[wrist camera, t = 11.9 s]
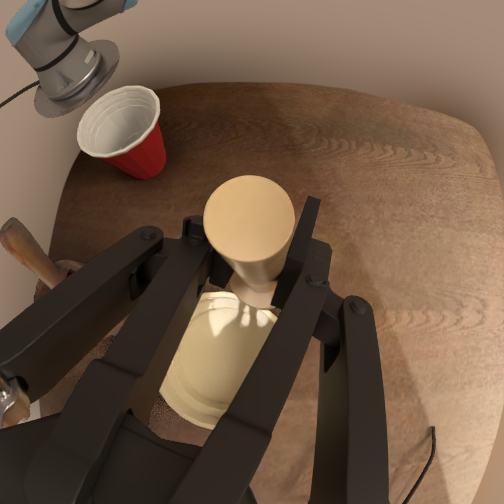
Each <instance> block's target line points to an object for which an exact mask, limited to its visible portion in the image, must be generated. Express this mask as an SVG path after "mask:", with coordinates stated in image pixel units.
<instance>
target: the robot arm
mask: <svg viewBox="0 0 504 504" xmlns="http://www.w3.org/2000/svg"><path fill="white" fill-rule="evenodd" d="M137 3H138V0H28V1H27V2H26V3H25V4H24V5H23V6H22V7H21V8H20V9H19V10H18V11H17V12H16V14H15V15H14V16H13V17H12V19H11V20H10V21H9V23H8V25H7V27H6V30H5V35H6V37H7V38H8V40H9V41H10V43H11V44H12V46H13V47H14V48H15V49H16V50H17V51H18V52H19V53H20V54H21V56H22V57H23V58H24V59H25V60H26V61H27V62H28V63H29V64H30V66H31V67H33V69H34V70H35V71H36V72H37V75H38V78H39V80H38V81H37V82H34V83H32V84H30V85H28V86H27V87H25V88H23V89H22V90H20V91H19V92H17V93H16V94H14V95H13V96H11V97H10V98H8V99H7V100H5V101H4V102H2V103H1V104H0V108H1V107H2V106H4V105H5V104H7V103H8V102H10V101H11V100H13V99H14V98H16V97H17V96H18V95H20V94H22V93H23V92H25V91H27V90H28V89H30V88H32V87H34V86H36V85H38V84H41V87H42V90H43V92H44V94H45V95H46V96H47V97H48V98H49V99H51V100H62V99H65V98H67V97H69V96H71V95H73V94H74V93H76V92H77V91H79V90H80V89H81V88H83V87H84V86H85V85H86V84H87V83H88V82H89V81H90V80H91V79H92V78H93V77H94V75H95V74H96V73H97V71H98V70H99V68H100V66H101V63H102V55H101V53H100V51H99V50H98V48H97V47H95V46H93V45H92V44H90V43H89V42H87V41H86V40H84V39H83V38H81V37H80V36H79V35H78V33H79V32H81V31H83V30H85V29H87V28H89V27H91V26H93V25H95V24H96V23H99V22H101V21H103V20H105V19H107V18H109V17H112V16H114V15H116V14H118V13H123V12H124V11H125V10H127V9H129V8H132V7H134V6H135V5H136V4H137ZM320 201H321V200H320V199H317V198H314V197H311V196H308V198H307V201H306V203H305V206H304V209H303V212H302V215H301V217H300V220H299V223H298V226H297V228H296V231H295V234H294V237H293V239H292V242H291V245H290V247H289V250H288V253H287V257H286V261H285V264H284V267H283V269H282V271H281V273H280V276H279V279H278V282H277V285H276V288H275V291H274V294H273V297H272V300H271V303H270V305H271V306H274V307H277V308H280V309H282V310H281V312H280V314H279V316H278V318H277V320H276V322H275V324H274V326H273V328H272V330H271V331H270V333H269V335H268V337H267V339H266V341H265V343H264V344H263V346H262V348H261V350H260V352H259V354H258V356H257V357H256V359H255V361H254V363H253V365H252V366H251V368H250V370H249V372H248V374H247V375H246V377H245V379H244V381H243V383H242V384H241V386H240V388H239V390H238V391H237V393H236V395H235V397H234V398H233V400H232V402H231V404H230V405H229V407H228V409H227V410H226V412H225V413H224V414H223V415H222V416H221V418H220V419H219V421H218V422H217V424H216V426H215V427H214V429H213V431H212V432H211V434H210V436H209V437H208V439H207V441H206V442H205V444H204V445H203V447H199V446H197V445H191V444H185V443H180V442H175V441H170V440H165V439H162V438H160V437H159V436H157V435H156V434H155V433H154V432H152V431H151V430H150V429H149V428H148V427H147V426H148V422H149V416H150V412H151V409H152V407H153V404H154V402H155V400H156V397H157V395H158V393H159V390H160V388H161V386H162V383H163V381H164V379H165V376H166V374H167V372H168V370H169V367H170V365H171V363H172V360H173V358H174V356H175V354H176V351H177V349H178V347H179V345H180V342H181V340H182V338H183V336H184V333H185V331H186V329H187V327H188V324H189V322H190V320H191V318H192V316H193V313H194V311H195V309H196V307H197V305H198V302H199V300H200V298H201V296H202V294H203V291H204V289H205V283H206V280H207V278H208V277H209V275H210V279H209V283H211V284H213V285H216V286H219V287H221V288H225V287H226V285H227V283H228V281H229V280H230V278H231V276H232V275H233V273H234V270H233V269H232V268H231V267H230V266H229V265H228V263H227V262H226V261H225V260H224V259H223V258H222V257H221V256H220V254H219V253H218V252H217V251H216V250H215V249H214V248H213V246H212V245H211V244H210V242H209V240H208V239H207V236H206V234H205V230H204V225H203V216H198V215H195V216H189V217H186V218H185V219H184V220H183V231H182V237H181V238H180V239H170V238H163V235H164V233H163V231H162V230H161V229H159V228H158V227H154V226H143V227H140V228H138V229H136V230H135V231H133V232H132V233H130V234H129V235H127V236H126V237H124V238H123V239H121V240H120V241H118V242H117V243H115V244H114V245H112V246H111V247H109V248H108V249H106V250H105V251H103V252H102V253H101V254H99V255H98V256H96V257H95V258H93V259H92V260H90V261H89V262H88V263H86V264H85V265H83V266H82V267H81V268H79V269H78V270H77V271H75V272H74V273H72V274H71V275H70V276H68V277H67V278H66V279H64V280H63V281H62V282H60V283H59V284H58V285H56V286H55V287H54V288H52V289H51V290H50V291H48V292H47V293H46V294H44V295H43V296H42V297H40V298H39V299H38V300H37V301H35V302H34V303H33V304H32V305H30V306H29V307H28V308H27V309H25V310H24V311H23V312H22V313H20V314H19V315H18V316H17V317H15V318H14V319H13V320H12V321H11V322H9V323H8V324H7V325H6V326H5V327H3V328H2V329H1V330H0V504H257V502H256V499H255V497H254V494H253V492H252V490H251V488H250V486H249V484H250V482H251V480H252V478H253V476H254V474H255V472H256V470H257V468H258V466H259V464H260V462H261V459H262V457H263V455H264V453H265V451H266V449H267V447H268V445H269V442H270V440H271V437H272V431H273V429H274V427H275V424H276V422H277V420H278V418H279V415H280V413H281V411H282V409H283V406H284V404H285V402H286V399H287V397H288V395H289V392H290V390H291V388H292V385H293V383H294V380H295V378H296V375H297V373H298V370H299V368H300V365H301V363H302V360H303V358H304V355H305V353H306V350H307V348H308V345H309V342H310V340H311V337H312V336H313V337H315V338H316V339H318V340H320V341H321V343H320V372H319V396H318V414H317V430H316V443H315V455H314V466H313V477H312V486H311V495H310V504H390V503H389V500H388V492H389V477H388V442H387V424H386V411H385V399H384V389H383V379H382V370H381V362H380V354H379V347H378V340H377V333H376V327H375V321H374V315H373V310H372V307H371V305H370V304H369V303H368V302H367V301H366V300H364V299H363V298H361V297H358V296H352V295H351V296H347V297H346V298H345V299H343V298H341V297H339V296H338V295H336V294H335V293H334V292H333V291H332V290H331V289H330V287H329V282H328V275H329V268H330V262H331V255H332V250H331V247H330V245H329V244H327V243H325V242H322V241H319V240H316V239H313V238H311V237H312V233H313V229H314V225H315V221H316V217H317V213H318V209H319V205H320ZM130 312H131V313H130ZM129 313H130V315H129V316H128V318H127V319H126V321H125V323H124V324H123V326H122V327H121V329H120V331H119V332H118V334H117V335H116V337H115V339H114V340H113V342H112V344H111V345H110V347H109V349H108V350H107V352H106V354H105V355H104V357H103V358H101V359H94V360H93V361H91V363H90V364H89V365H88V367H87V368H86V370H85V372H84V373H83V375H82V377H81V379H80V380H79V382H78V384H77V385H76V387H75V389H74V391H73V392H72V394H71V396H70V398H69V399H68V401H67V403H66V405H65V407H64V408H63V410H62V412H59V413H56V414H53V415H50V416H46V417H43V418H39V419H36V420H32V421H29V422H25V423H21V424H18V422H19V421H20V420H21V421H25V420H27V419H28V418H29V417H30V409H29V408H30V404H31V403H33V402H35V401H36V400H38V399H39V398H41V397H42V396H44V395H45V394H46V393H47V392H48V391H49V390H51V389H52V388H53V387H54V386H55V385H56V384H57V383H58V382H59V381H60V380H61V379H62V378H63V377H64V376H65V375H66V374H67V373H68V372H69V371H70V370H71V369H72V368H73V367H74V366H75V365H76V364H77V363H78V362H79V361H80V360H81V359H82V358H83V357H84V356H85V355H86V354H87V353H88V352H89V351H90V350H91V349H93V348H94V347H95V346H96V345H97V344H98V343H99V342H100V341H101V340H102V339H103V338H104V337H105V336H106V335H107V334H108V333H109V332H110V331H111V330H112V329H113V328H115V327H116V326H117V325H118V324H119V323H120V322H121V321H122V320H123V319H124V318H125V317H126V316H127V315H128V314H129ZM17 424H18V425H17Z"/></svg>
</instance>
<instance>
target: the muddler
mask: <svg viewBox="0 0 504 504" xmlns="http://www.w3.org/2000/svg"><path fill="white" fill-rule="evenodd" d="M294 221H295V215H294V208H293V205H292V202H291V200H290V198H289V196H288V195H287V193H286V192H285V191H284V190H283V189H282V188H281V187H280V186H279V185H278V184H276V183H275V182H273V181H271V180H269V179H266V178H264V177H260V176H252V175H249V176H240V177H236V178H233V179H231V180H228V181H227V182H225V183H223V184H222V185H221V186H219V187H218V188H217V189H216V190H215V191H214V192H213V194H212V195H211V196H210V198H209V200H208V202H207V204H206V207H205V210H204V215H203V225H204V230H205V234H206V236H207V239H208V240H209V242H210V244H211V245H212V246H213V248H214V249H215V250H216V251H217V252H218V253H219V254H220V256H221V257H222V258H223V259H224V260H225V261H226V262H227V263H228V265H229V266H230V267H231V268H232V269H233V270H234V273H233V275H232V276H231V278H230V280H229V283H230V286H231V289H232V291H233V292H234V294H235V295H236V297H237V298H238V299H239V300H240V301H242V302H243V303H244V304H246V305H248V306H250V307H253V308H257V309H262V310H268V309H272V308H275V307H274V306H271V305H270V303H271V300H272V297H273V294H274V291H275V288H276V285H277V282H278V279H279V276H280V273H281V271H282V269H283V267H284V264H285V261H286V257H287V253H288V248H289V244H290V240H291V236H292V232H293V228H294Z"/></svg>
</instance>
